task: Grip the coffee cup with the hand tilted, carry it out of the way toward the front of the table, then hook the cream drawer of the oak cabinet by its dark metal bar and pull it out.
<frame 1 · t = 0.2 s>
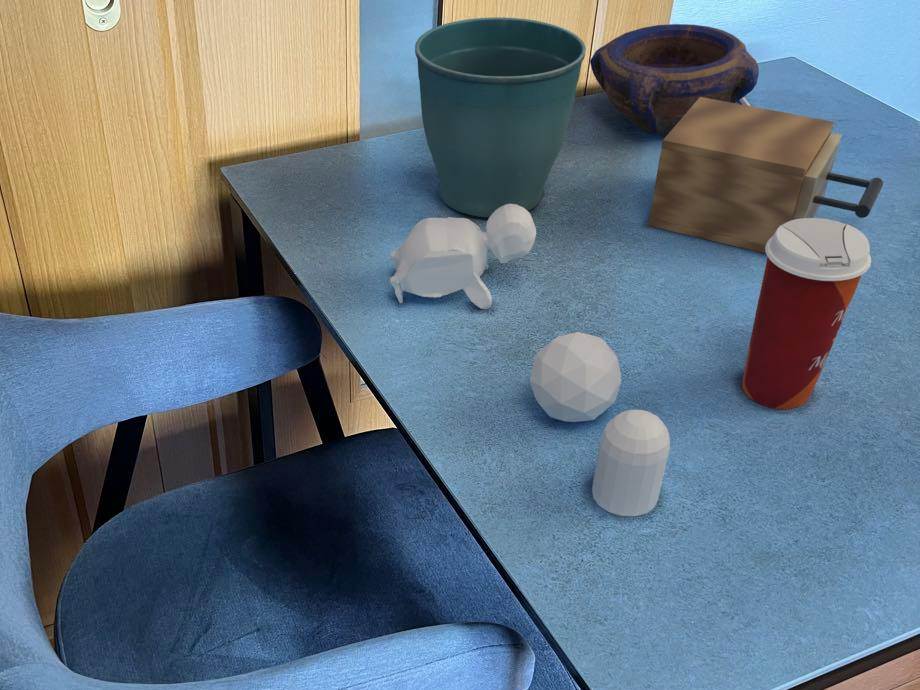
pencil: (752, 119, 136), on the table
drawer: (781, 183, 111), point 5 cm above the table, slide at 0.0 cm, touching cabinet
coffee cup: (775, 390, 94), on the table
white turtle figurine: (460, 289, 107), on the table
cabinet: (729, 216, 117), on the table
geometric ball: (570, 414, 92), on the table
flower pot: (490, 197, 121), on the table
bowl: (662, 123, 135), on the table
capsule: (624, 496, 84), on the table
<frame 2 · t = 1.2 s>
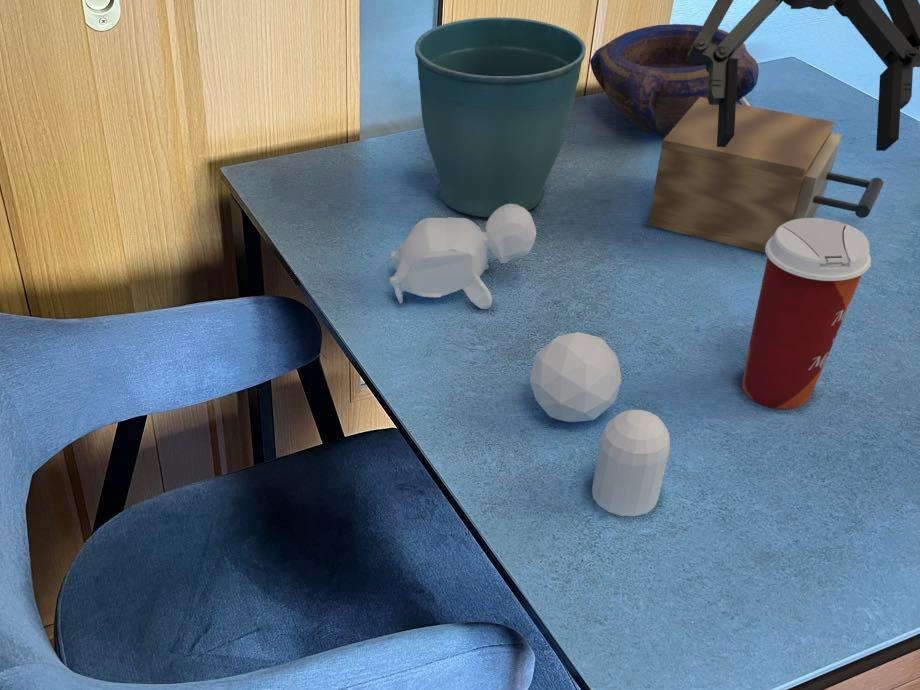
hand: (805, 143, 88), 18 cm above the table, tool tilted 45°, fingers open, 13 cm apart
nothing on the table moved.
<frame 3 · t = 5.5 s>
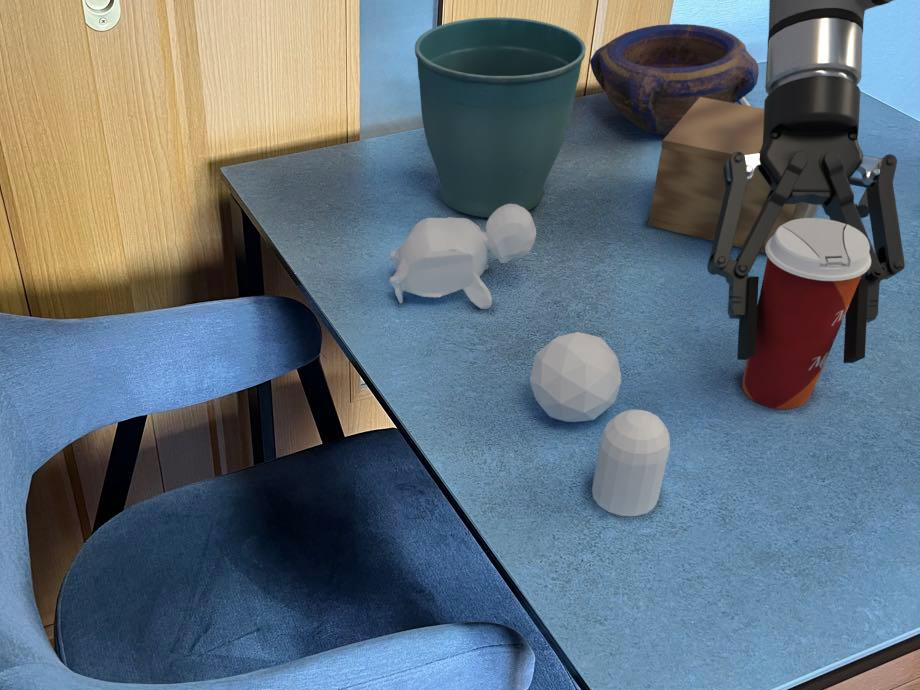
hand: (799, 358, 87), 6 cm above the table, tool tilted 45°, fingers closed on coffee cup, 8 cm apart
coffee cup: (775, 390, 94), on the table, touching gripper
everything else where it was.
when the fingers open (6 cm above the table, at t = 12.9 s): coffee cup stays where it is, on the table.
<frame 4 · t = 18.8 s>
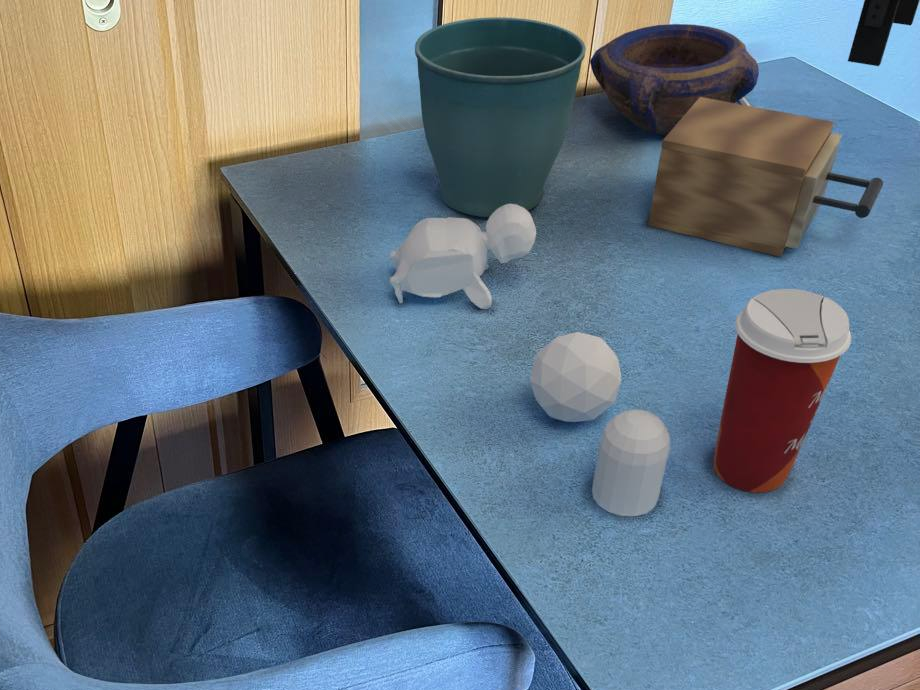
hand: (881, 42, 97), 21 cm above the table, tool pointing down, fingers open, 13 cm apart
coffee cup: (749, 470, 86), on the table
everything else where it was.
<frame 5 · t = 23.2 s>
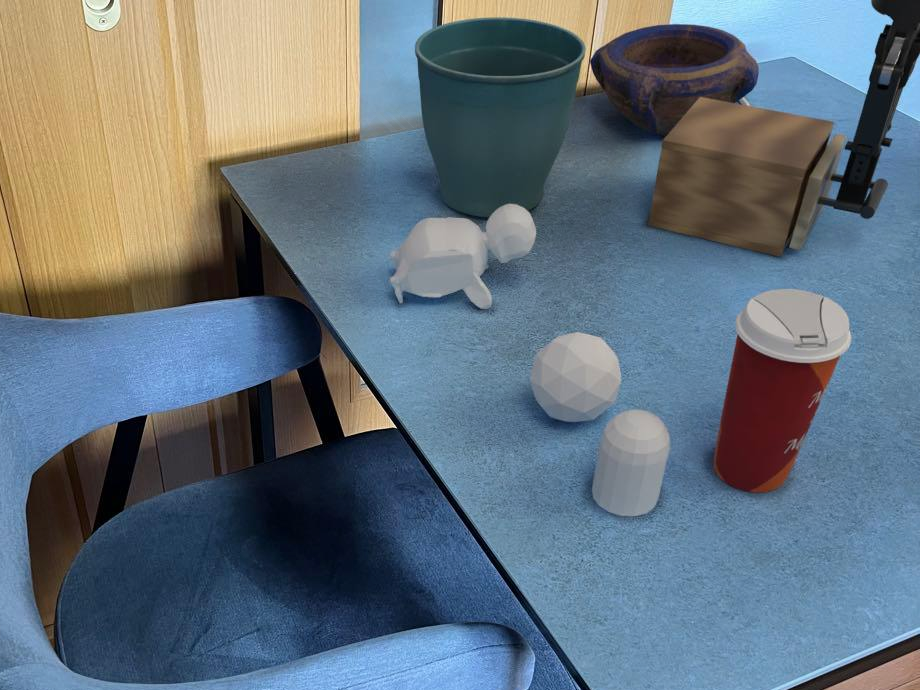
hand: (847, 208, 110), 4 cm above the table, tool pointing down, fingers closed
drawer: (786, 184, 111), point 5 cm above the table, slide at 0.5 cm
everything else where it was.
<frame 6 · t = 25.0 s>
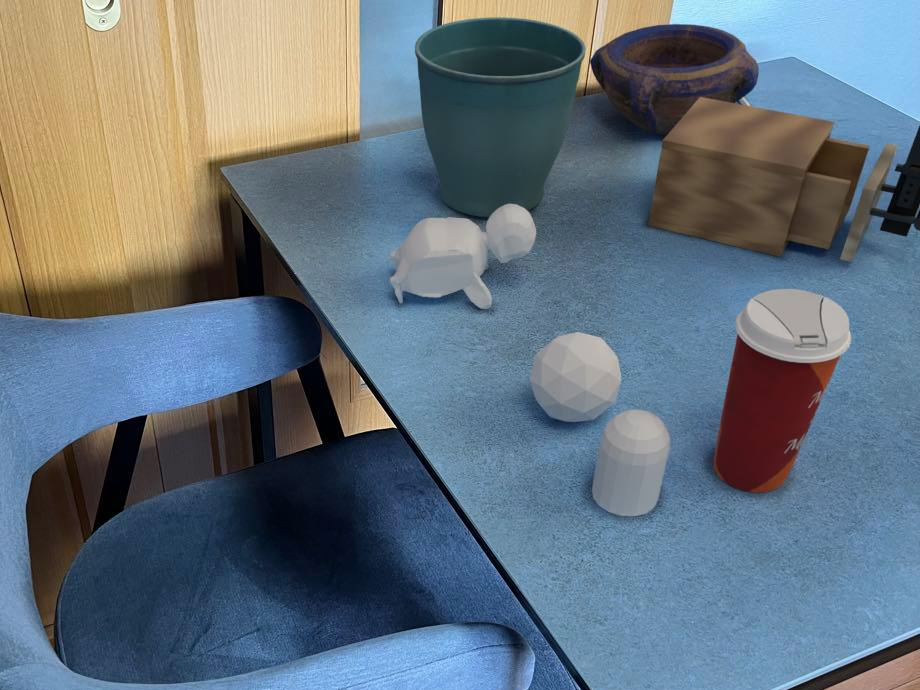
hand: (898, 221, 108), 3 cm above the table, tool pointing down, fingers closed on drawer, 4 cm apart
drawer: (836, 195, 109), point 5 cm above the table, slide at 5.7 cm, touching gripper
everything else where it was.
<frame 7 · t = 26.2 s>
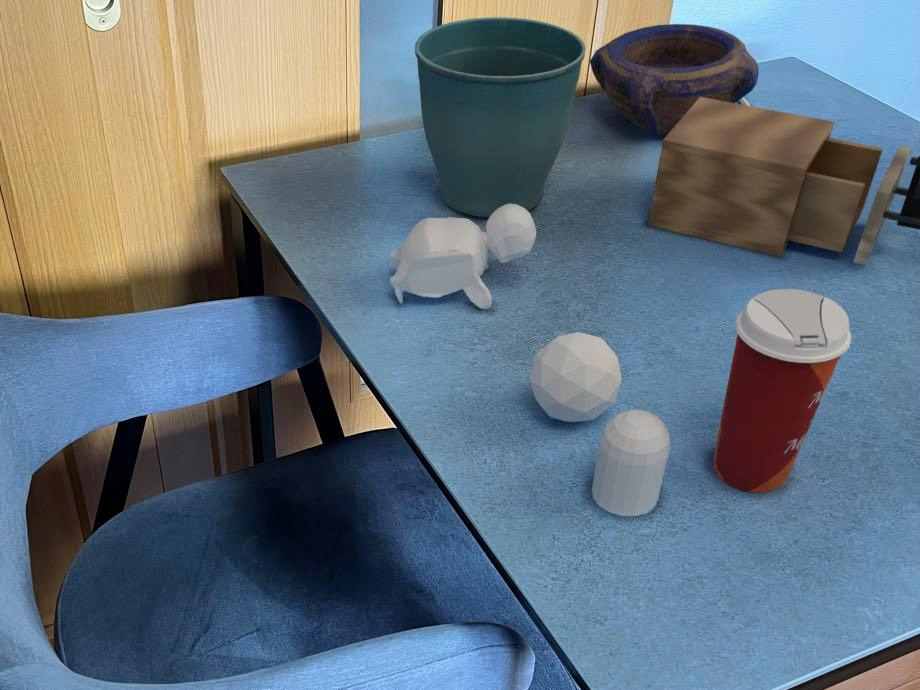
hand: (915, 216, 107), 4 cm above the table, tool pointing down, fingers closed on drawer, 4 cm apart
drawer: (849, 197, 109), point 5 cm above the table, slide at 7.1 cm, touching gripper
everything else where it was.
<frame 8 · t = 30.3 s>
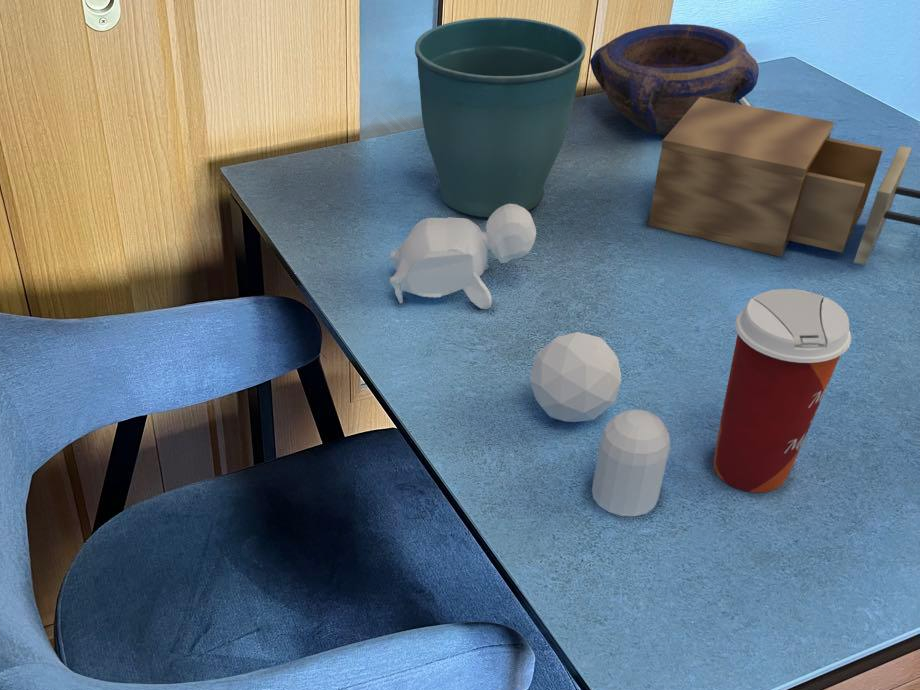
drawer: (849, 198, 109), point 5 cm above the table, slide at 7.1 cm
everything else where it was.
at the end: coffee cup inside the target area (0.0 cm from its centre), on the table; coffee cup tilted 0°; drawer slide at 7.1 cm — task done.
